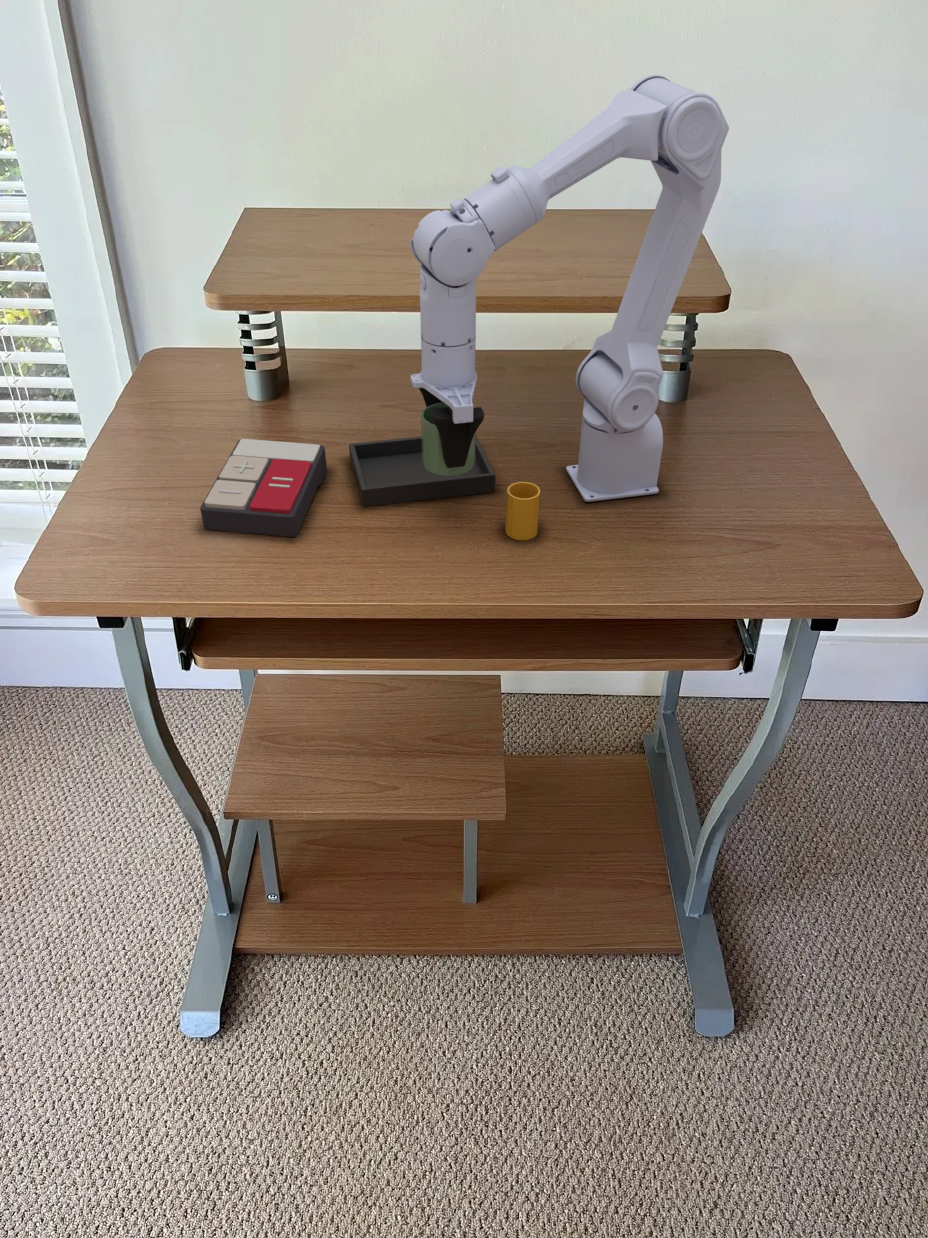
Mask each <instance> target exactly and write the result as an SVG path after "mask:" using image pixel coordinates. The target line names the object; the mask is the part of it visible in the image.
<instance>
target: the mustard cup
mask: <svg viewBox="0 0 928 1238" xmlns="http://www.w3.org/2000/svg"><path fill="white" fill-rule="evenodd" d="M541 491H542V490H541V489H540V487H539V486H538V485H537V484H535V483H533V482H528V481H517V482H512V483H511V484H510V485H508V486H507V488H506V499H505V500H506V501H505V524H504V525H505V526H504V527H505V531H504V532H505V534H506V535H507V536H508V537H509V538H511V539H513V540H516V541H529V540H532V539H535V538H536V536H537V535H538V532H539V531H538V530H539V524H540V523H539V521H540V509H541V508H540V507H541Z"/></svg>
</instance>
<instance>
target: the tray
mask: <svg viewBox="0 0 928 1238" xmlns="http://www.w3.org/2000/svg"><path fill="white" fill-rule="evenodd" d="M348 451H349V460H350V465H351V468H352V472H353V475H354V479H355V483H356V484H355V485H356V487H357V491H358V495H359V498H360V502H361V505H362V507H363V508H366V507H375V506H383V505H392V504H401V503H410V502H417V501H418V502H419V501H427V500H434V499H435V500H436V499H443V498H452V497H453V498H454V497H461V496H462V497H463V496H470V495H478V494H488V493H495V492H496V474H495V472H494V469H493V467H492V464H491V463H490V461H489V459H488V457H487V454H486V453H485V451H484V449H483V446H482V444H481V443H480V440H479V438H478V436H477V435H476V439H475V464H474V466H473V468H472V469H471V470H469V471H468V472H466V473H463V474H459V475H453V476H444V475H438V474H434V473H432V472H430V471H428V470H427V469H426V468H425V467H424V465H423V460H422V435H421V436H410V437H401V438H391V439H384V440H383V439H381V440H371V441H362V442H353V443H352V442H351V443H348Z"/></svg>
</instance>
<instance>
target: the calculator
mask: <svg viewBox="0 0 928 1238" xmlns="http://www.w3.org/2000/svg"><path fill="white" fill-rule="evenodd" d="M327 472H328V467H327V457H326V447H325V446H324V445H321V444H316V443H306V442H305V443H304V442H293V441H292V442H291V441H289V442H288V441H278V440H265V439H252V438H241V439H239V440H237V442H236V444H235V445H234V447H233V449H232V451H231V452H230V455H229V457H228V458H227V460H226V461H225V463H224V465H223V467H222V468H221V470H220V472H219V474H218V476H217V478H216V479H215V481H214V483H213V484H212V486H211V488H210V490H209V491H208V494H207V495H206V496H205V499H204V500H203V502H202V504H201V505H200V508H199V509H200V516H201V519H202V525H203V528H204V530H208V531H216V532H217V531H219V532H220V531H221V532H229V533H239V534H240V533H241V534H252V535H254V534H255V535H265V536H274V537H288V538H295V537H297V536H298V534H299V532H300V529H301V527H302V524H303V522H304V520H305V517H306V515H307V513H308V511H309V508H310V506H311V504H312V501H313V499H314V497H315V494H316V492H317V490H318V487H320V486H321V485H322V483H323V482H324V480H325V479H324V478H325V476H326V475H327Z"/></svg>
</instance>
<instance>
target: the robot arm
mask: <svg viewBox="0 0 928 1238" xmlns="http://www.w3.org/2000/svg"><path fill="white" fill-rule="evenodd" d="M729 130H730V126H729V124H728V122H727V119H726V117H725V114H724V113H723V111H722V109H721V106H720V105H719V103H718V101H717V100H716V98H714V97H713V96H711V95H710V94H708V93H705V92H699V91H695V90H693V89H691V88H688V87H686V86H683V85H681V84H678V83H676V82H674V81H672V80H670V79H669V78H667V77H666V76H663V75H660V74H650V75H647V76H644V77H642V78H640V79H639V80H637V81H636V82H635V83H634V84H633V85H632V86H631V87H630V88H626V89H624V90H622V91H620V92H618V93H617V94H616V95H615V96H614V97H613V98H612V100H611V101H610V103H609V104H608V106H607V107H606V108H605V109H604V110H603V111H601V112H600V113H599V114H597V116H595V117H594V118H593V119H591V120H590V121H588V122H587V123H586V124H584V126H582V127H581V128H579V129H578V130H577V131H576V132H574V134H572V135H571V136H570V137H568V138H567V139H565V140H564V141H563V142H562V143H561V144H559V145H558V146H557V147H555V148H554V149H553V150H552V151H550V152H549V153H547V154H546V155H544V157H542V158H541V159H539V161H537V162H536V163H534V164H533V165H532V166H531V167H522V166H519V165H515V164H514V165H510V166H509V167H507V168H504V167H503V166H499V167H497V168H495V169H494V170H493V171H491V172H490V177H491V179H490V180H489V181H487V182H486V183H484V184H483V185H482V186H480V187H479V188H477V189H476V190H474V191H473V192H471V193H469V195H467V196H465V197H464V198H463V199H461V200H460V199H459V198H456V199H454V200H453V201H452V202H450V204H449V206H450V210H448V209H442V210H440V209H437V210H434V211H431V212H430V213H428V214H426V215H425V216H423V218H422V219H421V220H420V221H419V223H418V224H417V225H418V226H417V228H415V230H414V234H413V238H411V239H409V246H410V250H411V252H412V255H413V257H414V258H415V259H416V260H417V262H418V263H419V264H420V266H419V284H420V287H419V288H420V289H419V307H420V308H419V311H420V312H419V313H420V315H419V317H420V318H419V319H420V355H421V357H420V358H421V359H420V361H421V363H420V364H421V371H420V372H419V373H413V374H411V375H410V383H411V386H412V388H414V389H418V390H419V391H420V393H421V395H422V398H423V400H424V404H425V408H427V407H428V406H430V405H433V404H436V403H442V402H444V403H445V404H446V405H448V408H447V407H444V408H434V409H429V413H430V416H431V418H432V420H433V422H434V424H435V425H436V427H437V430H438V433H439V437H440V441H441V448H442V454H443V459H444V462H445V465H446V467H447V468H454V467H463V466H465V463H466V460H467V457H468V453H469V449H470V445H471V442H472V439H473V437H474V434H475V432H477V430H478V429H479V427H480V426H481V425H482V423H483V422H484V419H485V412H484V410H483V407H482V406H477V407H474V403H473V399H474V395H475V392H476V391H475V390H476V387H477V383H478V373H477V372H476V349H477V348H476V345H477V344H476V343H477V342H476V340H477V339H476V337H477V279H478V278H480V276H481V274H482V273H483V272H484V270H485V268H486V265H487V261H488V260H489V258H490V257H491V256H492V255H494V253H495V252H497V251H498V250H500V249H501V248H502V247H504V246H505V245H507V244H508V243H510V242H511V241H512V240H514V239H515V238H517V237H518V236H520V235H521V234H523V233H524V232H526V231H527V230H529V229H530V228H531V227H533V226H534V225H536V224H537V223H539V222H540V221H542V220H543V219H544V216H545V214H546V210H547V206H548V203H549V201H550V199H551V200H552V198H554V197H556V196H557V195H559V194H561V193H563V192H564V191H565V190H568V189H569V188H571V187H573V186H574V185H576V184H578V183H579V182H581V181H582V180H584V179H586V178H587V177H589V176H590V175H592V174H594V173H595V172H598V171H599V170H600V169H602V168H604V167H606V166H607V165H609V164H610V163H612V162H614V161H616V160H617V159H621V158H625V159H632V160H633V159H635V160H643V161H650V163H651V165H652V167H653V169H654V171H655V173H656V175H657V177H658V179H659V181H660V183H661V186H662V188H661V191H660V194H659V196H658V199H657V203H656V205H655V209H654V211H653V214H652V216H651V220H650V222H649V224H648V227H647V231H646V233H645V235H644V239H643V241H642V244H641V247H640V250H639V252H638V255H637V258H636V261H635V264H634V266H633V269H632V271H631V275H630V277H629V280H628V283H627V285H626V288H625V291H624V293H623V294H624V295H623V296H622V300H621V302H620V305H619V308H618V311H617V314H616V316H615V318H614V321H613V324H612V328H611V330H609V331H607V332H605V333H603V334H601V335H599V336H597V337H596V338H595V340H594V343H593V345H592V348H591V350H590V352H589V353H588V355H587V356H586V357H585V358H584V359H583V360H582V361H581V363H580V365H579V366H578V368H577V371H576V374H575V386H576V389H577V391H578V393H579V394H580V395H581V396H582V397H583V401H582V402H583V403H582V406H583V409H582V416H581V427H580V428H581V429H580V440H579V447H578V448H579V450H578V461H577V464H573V465H567V466H566V468H565V471H566V472H567V475H568V476H569V477H570V479H571V481H572V482H573V484H574V486H575V487H576V489H577V491H578V493H579V495H580V496H581V498H582V499H583V501H584V502H586V503H590V502H599V501H607V500H616V499H623V498H624V499H625V498H631V497H632V498H633V497H641V496H649V495H657V494H659V493H660V492H659V491H660V489H659V487H658V479H659V475H660V467H661V462H662V461H661V460H662V453H663V447H664V432H663V426H662V422H661V420H660V418H659V416H658V415H657V413H656V412H657V409H658V406H659V400H660V398H659V397H660V396H659V389H660V384H661V381H662V379H663V376H664V371H663V367H662V361H661V359H660V354H659V349H658V346H659V343H660V341H661V339H662V336H663V333H664V331H665V328H666V325H667V323H668V321H669V318H670V315H671V312H672V310H673V308H674V305H675V302H676V301H677V297H678V295H679V292H680V290H681V287H682V284H683V282H684V278H685V277H686V275H687V271H688V270H689V267H690V264H691V261H692V259H693V256H694V255H695V254H694V253H695V252H696V249H697V246H698V243H699V241H700V239H701V236H702V234H703V230H704V228H705V225H706V223H707V221H708V218H709V216H710V213H711V210H712V208H713V205H714V202H715V199H717V198H716V197H717V195H718V192H719V189H720V186H721V184H722V183H721V182H722V149H723V146H724V144H725V141H726V138H727V136H728V133H729Z"/></svg>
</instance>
